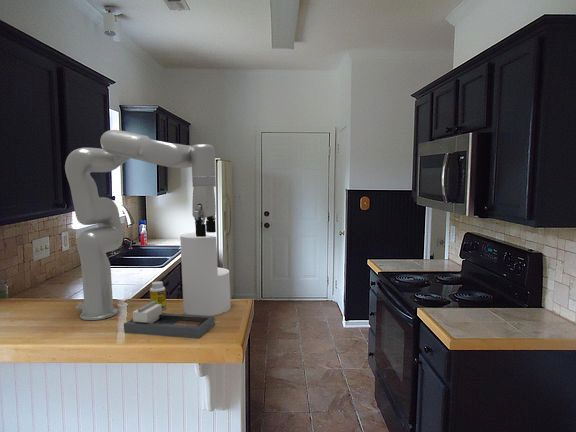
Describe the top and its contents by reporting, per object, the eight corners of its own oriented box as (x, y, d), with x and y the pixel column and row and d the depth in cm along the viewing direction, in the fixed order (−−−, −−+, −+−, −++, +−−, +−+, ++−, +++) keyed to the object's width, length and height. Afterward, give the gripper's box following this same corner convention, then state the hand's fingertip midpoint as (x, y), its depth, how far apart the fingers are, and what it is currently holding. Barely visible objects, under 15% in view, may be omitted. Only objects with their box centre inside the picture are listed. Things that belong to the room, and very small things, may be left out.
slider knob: (133, 326, 138) (132, 308, 138) (149, 317, 147) (148, 300, 146) (147, 327, 137) (146, 309, 137) (162, 317, 146) (161, 301, 145)
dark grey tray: (124, 332, 138) (123, 323, 137) (145, 320, 149) (144, 311, 149) (198, 338, 131) (198, 328, 131) (214, 324, 143) (214, 316, 143)
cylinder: (197, 319, 149) (193, 239, 146) (175, 308, 162) (172, 234, 159) (239, 308, 160) (236, 234, 157) (215, 299, 173) (213, 230, 170)
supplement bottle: (158, 312, 158) (157, 285, 157) (147, 310, 160) (146, 283, 159) (169, 308, 162) (168, 281, 161) (158, 306, 165) (157, 280, 164)
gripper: (202, 182, 150) (204, 230, 151) (182, 183, 132) (185, 238, 134) (223, 181, 148) (224, 230, 150) (206, 183, 131) (208, 238, 133)
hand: (206, 234), depth 142 cm, fingers open, 9 cm apart
